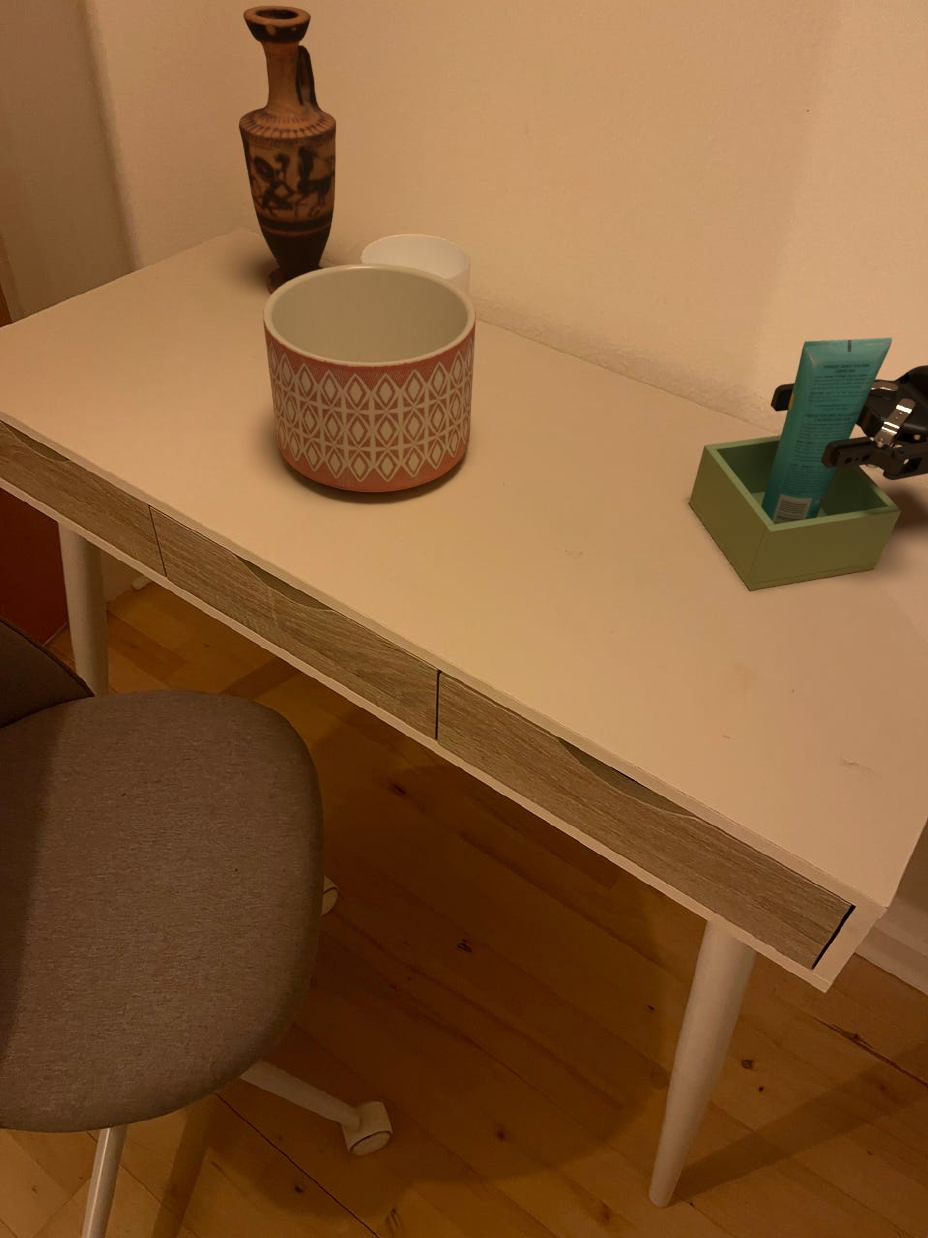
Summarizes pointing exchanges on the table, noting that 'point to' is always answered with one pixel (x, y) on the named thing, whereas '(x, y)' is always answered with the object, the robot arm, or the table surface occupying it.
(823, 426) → the tube
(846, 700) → the table surface
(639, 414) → the table surface
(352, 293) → the planter
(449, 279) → the cup
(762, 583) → the basket
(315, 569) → the table surface
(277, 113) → the vase
